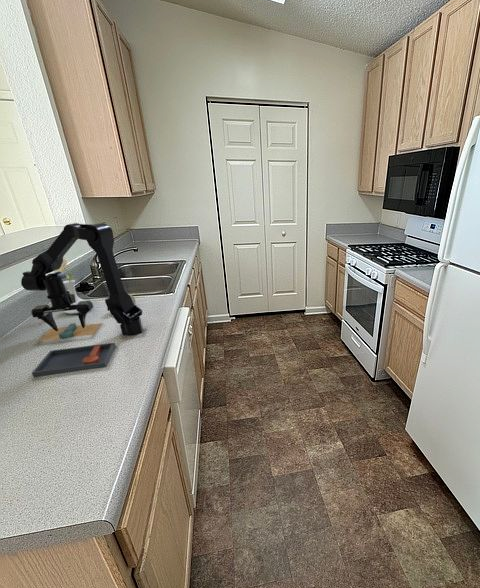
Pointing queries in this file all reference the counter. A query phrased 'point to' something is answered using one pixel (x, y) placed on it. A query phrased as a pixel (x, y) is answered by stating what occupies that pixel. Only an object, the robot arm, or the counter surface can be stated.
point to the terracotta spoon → (93, 356)
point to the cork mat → (78, 332)
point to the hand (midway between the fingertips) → (70, 329)
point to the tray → (72, 360)
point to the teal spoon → (68, 331)
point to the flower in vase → (69, 286)
